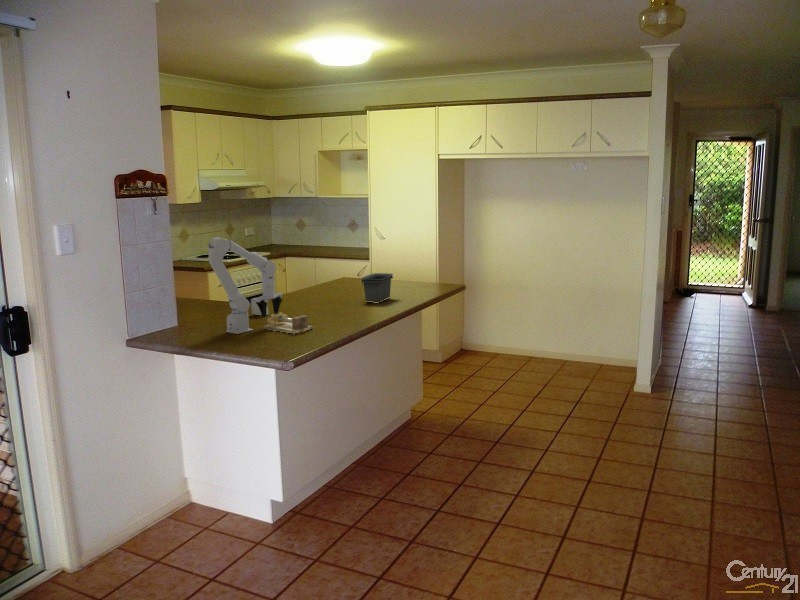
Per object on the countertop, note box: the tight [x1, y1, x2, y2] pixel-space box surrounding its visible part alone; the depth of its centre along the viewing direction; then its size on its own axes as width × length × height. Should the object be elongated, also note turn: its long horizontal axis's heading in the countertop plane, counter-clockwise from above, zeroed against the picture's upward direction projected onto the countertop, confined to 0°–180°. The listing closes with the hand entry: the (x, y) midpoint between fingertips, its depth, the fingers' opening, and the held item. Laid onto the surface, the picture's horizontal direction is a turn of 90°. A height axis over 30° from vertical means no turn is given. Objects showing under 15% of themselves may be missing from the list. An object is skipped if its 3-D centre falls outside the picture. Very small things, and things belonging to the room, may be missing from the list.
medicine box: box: [250, 297, 270, 316], centre depth 341 cm, size 8×4×9 cm, turn 59°
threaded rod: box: [278, 317, 292, 323], centre depth 308 cm, size 2×16×2 cm, turn 54°
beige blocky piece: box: [262, 315, 314, 335], centre depth 308 cm, size 12×20×7 cm, turn 54°
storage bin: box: [360, 272, 394, 302], centre depth 377 cm, size 21×16×14 cm
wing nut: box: [267, 311, 288, 325], centre depth 312 cm, size 11×3×5 cm, turn 144°
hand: (270, 314), depth 314 cm, fingers open, 7 cm apart
